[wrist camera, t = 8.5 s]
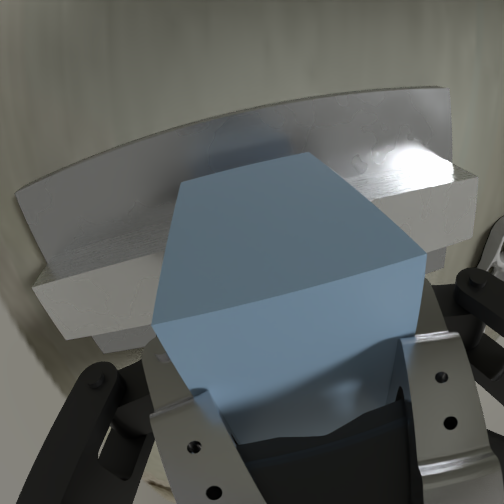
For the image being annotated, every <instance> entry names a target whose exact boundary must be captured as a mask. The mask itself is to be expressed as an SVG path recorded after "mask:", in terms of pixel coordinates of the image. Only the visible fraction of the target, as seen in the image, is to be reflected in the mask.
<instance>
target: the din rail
mask: <svg viewBox="0 0 504 504" xmlns="http://www.w3.org/2000/svg"><path fill="white" fill-rule="evenodd" d="M305 152H310V153H311V154H312V155H314V156H315V157H316V158H318V159H319V160H320V161H321V162H323V163H324V164H325V165H327V166H328V167H329V168H330V169H332V170H333V171H334V172H335V173H337V174H338V175H339V176H340V177H342V178H343V179H344V180H345V181H346V182H348V183H349V184H350V185H351V186H353V187H354V188H355V189H356V190H357V191H359V192H360V193H361V194H362V195H363V196H365V197H366V198H367V199H368V200H369V201H370V202H372V203H373V204H374V205H375V206H376V207H377V208H378V209H380V210H381V211H382V212H383V213H384V214H385V215H386V216H387V217H389V218H390V219H391V220H392V221H393V222H394V223H395V224H396V225H397V226H399V227H400V228H401V229H402V230H403V231H404V232H405V233H406V234H407V235H408V236H409V237H410V238H411V239H413V240H414V241H415V242H416V243H417V244H418V245H419V246H420V247H421V248H422V249H423V250H424V251H425V252H426V253H427V260H426V268H425V274H427V273H430V272H433V271H436V270H439V269H441V268H444V261H445V254H446V246H449V245H452V244H455V243H458V242H461V241H464V240H467V239H470V238H472V235H473V228H474V220H475V211H476V202H477V191H478V176H476V175H474V174H472V173H470V172H468V171H466V170H464V169H462V168H460V167H458V166H456V165H454V164H452V122H451V104H450V92H449V88H445V87H439V86H423V87H400V88H385V89H373V90H362V91H353V92H344V93H336V94H328V95H321V96H314V97H308V98H301V99H295V100H290V101H284V102H279V103H273V104H268V105H263V106H258V107H254V108H249V109H244V110H240V111H236V112H231V113H227V114H223V115H219V116H215V117H211V118H207V119H203V120H200V121H196V122H192V123H189V124H185V125H182V126H178V127H175V128H171V129H168V130H165V131H162V132H158V133H155V134H152V135H149V136H146V137H143V138H140V139H137V140H134V141H131V142H128V143H125V144H122V145H120V146H117V147H114V148H111V149H109V150H106V151H103V152H101V153H98V154H96V155H93V156H91V157H88V158H86V159H83V160H81V161H78V162H76V163H73V164H71V165H69V166H66V167H64V168H62V169H59V170H57V171H55V172H53V173H50V174H48V175H46V176H44V177H42V178H39V179H37V180H35V181H33V182H31V183H29V184H27V185H25V186H23V187H22V188H21V189H19V190H18V191H17V192H15V196H16V198H17V201H18V203H19V205H20V208H21V210H22V212H23V214H24V217H25V219H26V221H27V223H28V225H29V227H30V230H31V232H32V234H33V236H34V238H35V240H36V242H37V244H38V246H39V248H40V250H41V252H42V254H43V256H44V258H45V260H46V262H47V263H48V264H47V265H46V267H45V268H44V270H43V271H42V273H41V274H40V276H39V277H38V279H37V280H36V282H35V283H34V285H33V286H32V289H33V291H34V293H35V294H36V296H37V298H38V299H39V301H40V302H41V304H42V305H43V307H44V309H45V310H46V312H47V313H48V315H49V316H50V318H51V319H52V321H53V322H54V324H55V325H56V327H57V328H58V330H59V331H60V332H61V334H62V335H63V337H64V338H65V339H66V340H70V339H76V338H82V337H87V336H92V338H93V339H94V341H95V342H96V344H97V345H98V346H99V348H100V349H101V351H102V352H103V354H105V353H111V352H117V351H123V350H129V349H135V348H140V347H145V346H146V344H147V343H148V342H149V341H151V340H152V339H153V338H155V337H156V333H155V331H154V329H153V328H152V326H151V323H152V317H153V311H154V306H155V300H156V294H157V289H158V284H159V278H160V273H161V268H162V263H163V258H164V254H165V249H166V244H167V239H168V235H169V230H170V226H171V222H172V217H173V213H174V209H175V205H176V200H177V196H178V192H179V188H180V184H181V182H184V181H188V180H191V179H195V178H199V177H203V176H206V175H210V174H214V173H218V172H222V171H226V170H230V169H234V168H238V167H242V166H246V165H250V164H255V163H259V162H263V161H268V160H272V159H277V158H281V157H286V156H291V155H295V154H300V153H305Z"/></svg>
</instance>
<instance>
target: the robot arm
mask: <svg viewBox="0 0 504 504" xmlns="http://www.w3.org/2000/svg"><path fill="white" fill-rule="evenodd" d="M486 325H488V326H489V327H490V328H492V329H493V330H494V331H496V332H497V333H498V334H500V335H501V336H502V337H504V281H502V280H500V279H499V278H497V277H496V276H494V275H492V274H491V273H489V272H487V271H485V270H483V269H479V268H467V269H464V270H462V271H460V272H459V273H458V275H457V277H456V282H455V284H447V285H431V283H430V282H429V281H428V280H427V279H426V278H425V277H424V284H423V291H422V298H421V304H420V310H419V316H418V322H417V327H416V332H415V337H408V338H399V339H398V341H397V348H396V354H395V359H394V365H393V372H392V377H391V382H390V387H389V391H388V395H387V399H386V404H385V406H382V407H379V408H377V409H374V410H371V411H368V412H365V413H363V414H362V415H360V416H359V417H357V418H355V419H354V420H352V421H350V422H349V423H347V424H345V425H343V426H342V427H340V428H338V429H337V430H335V431H333V432H331V433H329V434H327V435H324V436H309V437H277V438H272V439H267V440H262V441H257V442H252V443H247V444H240V442H239V440H238V439H237V437H236V436H235V434H234V432H233V431H232V429H231V428H230V426H229V424H228V423H227V421H226V419H225V418H224V416H223V414H222V413H221V411H220V409H219V407H218V406H217V404H216V402H215V401H214V399H213V397H212V395H211V394H210V392H209V390H207V391H205V392H202V393H200V394H198V395H195V396H193V395H192V394H191V392H190V390H189V389H188V387H187V386H186V384H185V382H184V381H183V379H182V378H181V376H180V374H179V373H178V371H177V369H176V368H175V366H174V364H173V363H172V361H171V359H170V358H169V356H168V354H167V352H166V351H165V349H164V347H163V346H162V344H161V342H160V340H159V338H158V337H157V335H156V337H155V338H153V339H152V340H151V341H149V342H148V343H147V344H146V346H145V347H144V349H143V351H142V355H141V360H140V361H138V362H136V363H134V364H132V365H129V366H127V367H125V368H123V369H120V370H117V369H116V367H115V366H114V365H113V364H112V363H109V362H97V363H94V364H92V365H90V366H89V367H87V368H86V369H85V370H84V371H83V372H82V373H81V375H80V376H79V378H78V380H77V381H76V383H75V385H74V387H73V389H72V390H71V392H70V394H69V396H68V398H67V399H66V401H65V403H64V405H63V407H62V409H61V411H60V412H59V414H58V416H57V418H56V420H55V422H54V424H53V426H52V428H51V430H50V432H49V434H48V436H47V438H46V440H45V442H44V444H43V446H42V448H41V450H40V452H39V454H38V456H37V458H36V460H35V462H34V464H33V466H32V469H31V471H30V473H29V475H28V477H27V479H26V482H25V484H24V486H23V489H22V491H21V493H20V495H19V498H18V500H17V502H16V504H132V503H133V501H134V498H135V495H136V492H137V489H138V486H139V483H140V480H141V477H142V475H143V472H144V469H145V466H146V463H147V460H148V458H149V455H150V452H151V449H152V446H153V444H154V441H156V444H157V447H158V451H159V454H160V457H161V460H162V463H163V466H164V469H165V472H166V475H167V478H168V481H169V484H170V487H171V490H172V492H173V495H174V498H175V500H176V503H177V504H504V436H502V435H500V434H497V433H494V432H492V431H490V430H488V429H486V425H485V420H484V415H483V411H482V407H481V403H480V399H479V395H478V391H477V387H476V384H475V381H476V382H477V383H478V384H479V385H481V386H482V387H483V388H484V389H485V390H486V391H487V392H489V393H490V394H491V395H492V396H493V397H494V398H495V399H497V400H498V401H499V402H500V403H501V404H502V405H503V406H504V348H503V347H502V346H500V345H499V344H498V343H497V342H495V341H494V340H493V339H491V338H490V337H489V336H487V335H486V334H485V333H483V331H484V329H485V326H486ZM109 426H110V427H111V430H110V433H109V435H108V437H107V440H106V442H105V444H104V447H103V449H102V451H101V454H100V456H99V458H98V452H99V449H100V446H101V444H102V442H103V440H104V437H105V435H106V433H107V431H108V428H109Z"/></svg>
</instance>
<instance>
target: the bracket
mask: <svg viewBox="0 0 504 504" xmlns="http://www.w3.org/2000/svg"><path fill="white" fill-rule="evenodd" d="M503 242H504V216H503V217H501V218H500V219H499V220H498V221H497V222H496V223H495V225H494V226H493V228H492V230H491V232H490V235H489V237H488V240H487V243H486V245H485V248H484V251H483V255H482V258H481V261H480V263H479V264H478V266H477V268H479V269H483V270H485V271H488V270H489V268H490V267H492V266H493V267H494V269H493V271H492V273H491V274H492V275H494V276H496V277H497V278H499V279H500V280H502V281H504V252H501V253H500V250H501V247H502V244H503ZM484 331H485V329H484ZM484 331H483V333H484Z"/></svg>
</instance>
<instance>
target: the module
mask: <svg viewBox="0 0 504 504" xmlns="http://www.w3.org/2000/svg"><path fill="white" fill-rule="evenodd" d="M426 260H427V253H426V252H425V251H424V250H423V249H422V248H421V247H420V246H419V245H418V244H417V243H416V242H415V241H414V240H413V239H411V238H410V237H409V236H408V235H407V234H406V233H405V232H404V231H403V230H402V229H401V228H400V227H399V226H397V225H396V224H395V223H394V222H393V221H392V220H391V219H390V218H389V217H387V216H386V215H385V214H384V213H383V212H382V211H381V210H380V209H378V208H377V207H376V206H375V205H374V204H373V203H372V202H370V201H369V200H368V199H367V198H366V197H365V196H363V195H362V194H361V193H360V192H359V191H357V190H356V189H355V188H354V187H353V186H351V185H350V184H349V183H348V182H346V181H345V180H344V179H343V178H342V177H340V176H339V175H338V174H337V173H335V172H334V171H333V170H332V169H330V168H329V167H328V166H327V165H325V164H324V163H323V162H321V161H320V160H319V159H318V158H316V157H315V156H314V155H312V154H311V153H310V152H305V153H300V154H295V155H291V156H286V157H281V158H277V159H272V160H268V161H263V162H259V163H255V164H250V165H246V166H242V167H238V168H234V169H230V170H226V171H222V172H218V173H214V174H210V175H206V176H203V177H199V178H195V179H191V180H188V181H184V182H181V184H180V188H179V192H178V196H177V200H176V205H175V209H174V213H173V217H172V222H171V226H170V230H169V235H168V239H167V244H166V249H165V254H164V258H163V263H162V268H161V273H160V278H159V284H158V289H157V294H156V300H155V306H154V311H153V317H152V323H151V326H152V328H153V329H154V331H155V333H156V335H157V337H158V338H159V340H160V342H161V344H162V346H163V347H164V349H165V351H166V352H167V354H168V356H169V358H170V359H171V361H172V363H173V364H174V366H175V368H176V369H177V371H178V373H179V374H180V376H181V378H182V379H183V381H184V382H185V384H186V386H187V387H188V389H189V390H190V392H191V394H192V395H193V396H195V395H198V394H200V393H202V392H205V391H207V390H209V392H210V394H211V395H212V397H213V399H214V401H215V402H216V404H217V406H218V407H219V409H220V411H221V413H222V414H223V416H224V418H225V419H226V421H227V423H228V424H229V426H230V428H231V429H232V431H233V432H234V434H235V436H236V437H237V439H238V440H239V442H240V444H247V443H252V442H257V441H262V440H267V439H272V438H277V437H309V436H324V435H327V434H329V433H331V432H333V431H335V430H337V429H338V428H340V427H342V426H343V425H345V424H347V423H349V422H350V421H352V420H354V419H355V418H357V417H359V416H360V415H362V414H363V413H365V412H368V411H371V410H374V409H377V408H379V407H382V406H385V404H386V399H387V395H388V391H389V387H390V382H391V377H392V372H393V365H394V359H395V354H396V348H397V341H398V339H399V338H408V337H415V332H416V327H417V322H418V316H419V310H420V304H421V298H422V291H423V284H424V277H425V268H426Z"/></svg>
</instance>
